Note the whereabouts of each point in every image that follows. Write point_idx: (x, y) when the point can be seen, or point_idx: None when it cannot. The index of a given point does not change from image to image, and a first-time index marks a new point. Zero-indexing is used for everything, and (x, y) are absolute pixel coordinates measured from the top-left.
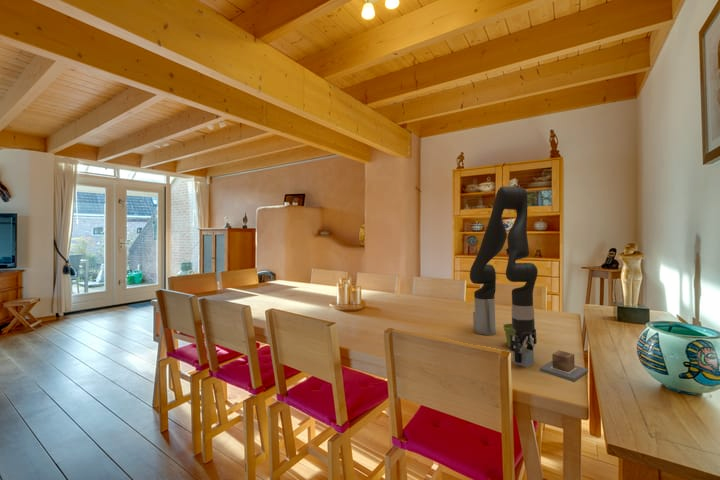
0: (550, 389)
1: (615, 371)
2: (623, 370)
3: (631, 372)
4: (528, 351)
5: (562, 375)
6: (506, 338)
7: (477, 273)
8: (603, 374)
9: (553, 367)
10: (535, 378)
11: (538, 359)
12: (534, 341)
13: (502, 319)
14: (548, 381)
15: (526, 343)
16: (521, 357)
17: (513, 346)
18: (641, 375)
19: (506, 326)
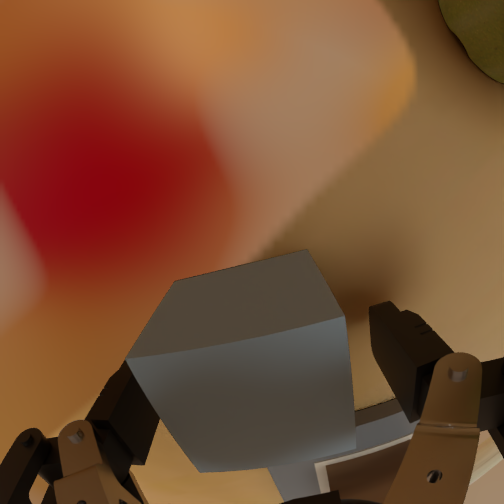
0: (150, 497)
1: (478, 460)
2: (494, 454)
3: (489, 463)
4: (289, 450)
5: (283, 499)
6: None
7: None
8: None
9: (326, 469)
10: (155, 458)
11: (434, 309)
12: (495, 439)
13: None
14: (192, 485)
15: (424, 412)
16: (154, 430)
17: (461, 29)
18: (480, 475)
19: None
